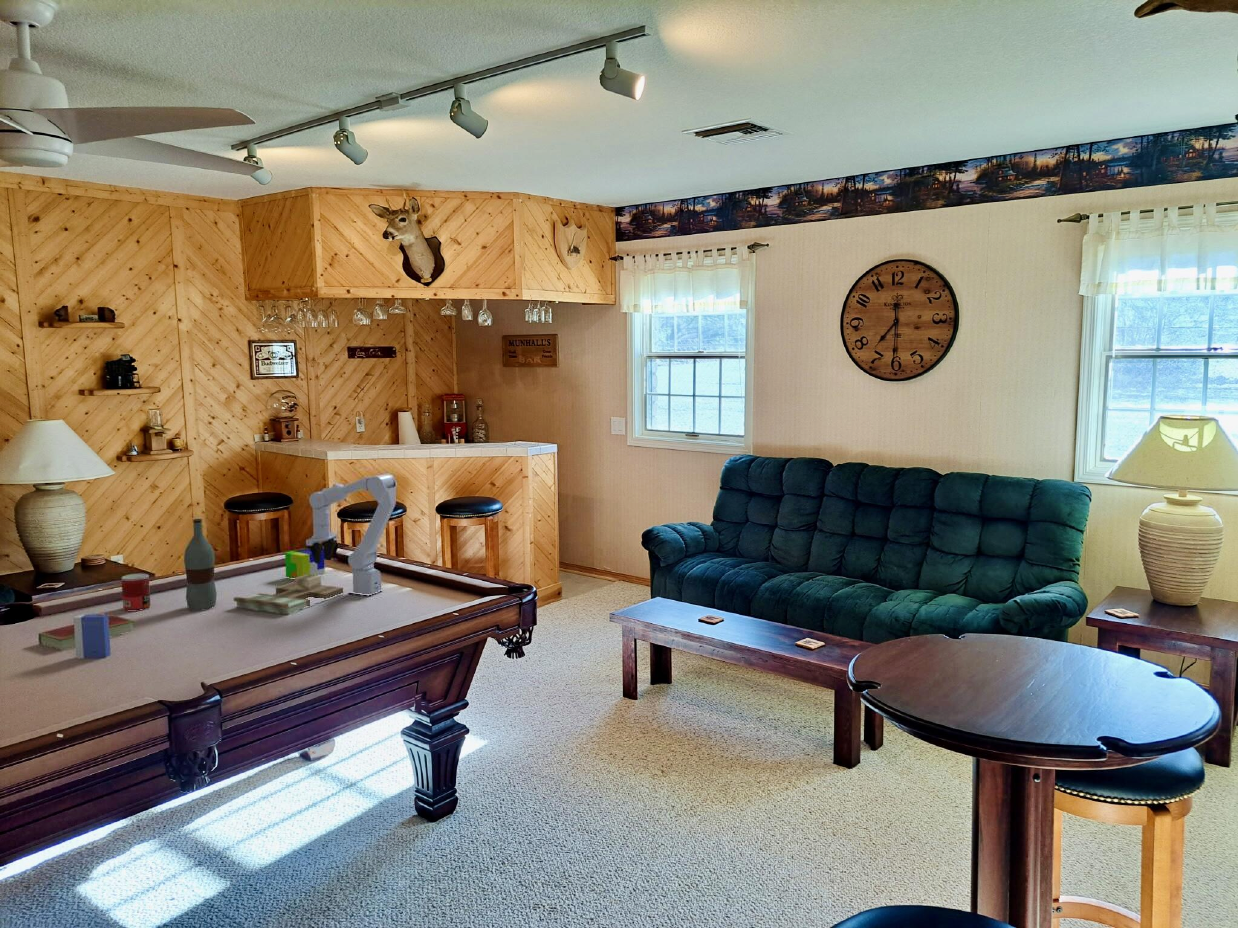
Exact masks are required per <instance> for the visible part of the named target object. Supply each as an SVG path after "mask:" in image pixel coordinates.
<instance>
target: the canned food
mask: <svg viewBox="0 0 1238 928" xmlns="http://www.w3.org/2000/svg"><path fill="white" fill-rule="evenodd" d="M150 587H151V586H150V577H149V574H147V573H131V574H126V575H124V576H122V577H121V592H122V593H121V595H122V596H121V597H122V607H123V610H124V609H125V610H140V609H145V610H147V609H146V608H148V607H149V608H150V607H151V591H150ZM149 608H148V609H149ZM125 610H124V611H125ZM140 611H141V610H140Z"/></svg>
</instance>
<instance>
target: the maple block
mask: <svg viewBox="0 0 1238 928" xmlns="http://www.w3.org/2000/svg"><path fill="white" fill-rule="evenodd" d="M294 582H295V587H296V589H298V590H306V591H310V590H313V589H316V588H319V587H321V585H322V577H321V576H317V575H308V574H307V575H304V576H300V577H297V578H295V580H294Z"/></svg>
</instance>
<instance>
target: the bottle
mask: <svg viewBox="0 0 1238 928" xmlns="http://www.w3.org/2000/svg"><path fill="white" fill-rule="evenodd" d="M192 522H193V536H192V538H191V540H190V541H189V542H188V545H187V546H186V547H185V550H184V554H183V555H184V556H183V557H184V558H183V563H184V569H185V574H186V575H185V576H186V583H187V584H186V591H185V592H186V594H185V600H186V604H187V608H188V610H189V609H191V610H190V611H194V610H200V611H203V610H202V609H208V610H210V608H211V609H213V608H212V607H214V606H215V607H216V603H217V596H218V595H217V589H216V584H215V564H216V563H215V562H216V557H215V551H214V548H213V546H212V545H211V542H209V541H208V539H207V538H206V537H205V536H204V534H203V519H202V518H194V519H192ZM215 607H214V608H215Z"/></svg>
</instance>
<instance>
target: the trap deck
mask: <svg viewBox="0 0 1238 928" xmlns="http://www.w3.org/2000/svg"><path fill="white" fill-rule="evenodd" d="M341 593H343V594H344V587H340V586H332V585H323V584H321V587H319V588H316V589H313V590H310V591H306V590H298V589H296V587H295V581H292V582H289V583H286V584H282V585H280V586H277V587H275V593H274V594H267V593H262V592H261V593H259V592H257V593H254V594H251V595H249V596H246V597H242V596H241V597H240V596H234V597H233V601H234V602H236V608H237V607H241V608H240V609H244V608H245V609H244V610H251V609H254V610H253V611H258V610H261V611H260V612H267V613H273V612H275V613H274V614H280V613H282V614H281V615H287V614H289V615H291V614H290V613H292V614H294V613H293V612H295V611H297V610H300V609H303V608H304V607H306V606H310V600H308V599H306V598H308V597H314V598H324V599H326V598H330V597H333V596H335V595H338V594H341ZM303 610H304V609H303ZM300 611H301V610H300ZM297 612H298V611H297ZM295 613H296V612H295Z"/></svg>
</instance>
